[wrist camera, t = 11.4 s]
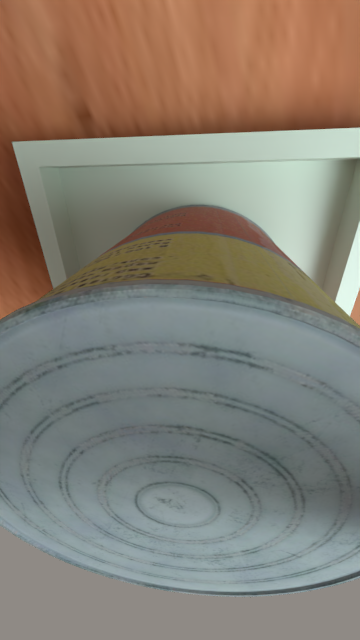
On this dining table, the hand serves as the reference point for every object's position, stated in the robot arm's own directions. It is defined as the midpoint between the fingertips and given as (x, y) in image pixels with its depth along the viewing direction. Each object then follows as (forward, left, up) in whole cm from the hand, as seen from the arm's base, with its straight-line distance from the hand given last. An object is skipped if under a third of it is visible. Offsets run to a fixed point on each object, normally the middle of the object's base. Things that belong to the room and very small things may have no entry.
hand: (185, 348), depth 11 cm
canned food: (0, 0, -6) cm, 6 cm away
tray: (0, 0, -6) cm, 6 cm away
